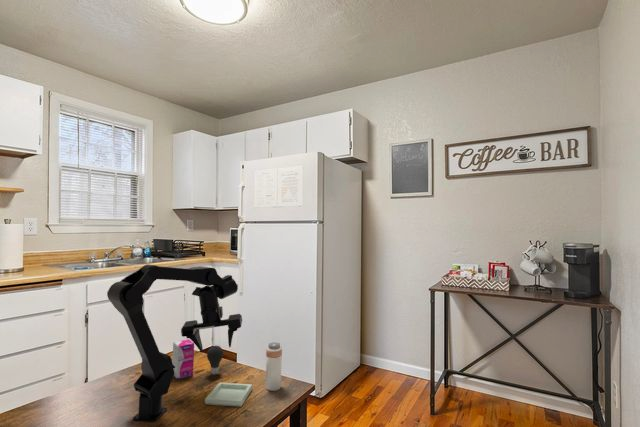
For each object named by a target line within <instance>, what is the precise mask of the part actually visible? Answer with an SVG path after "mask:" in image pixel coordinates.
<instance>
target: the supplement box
mask: <svg viewBox="0 0 640 427" xmlns="http://www.w3.org/2000/svg"><path fill="white" fill-rule="evenodd" d="M194 357H195V343H194V342H193V341H192V340H191V339H190V338H187V339H183V340H177V341H173V343H172V358H171V359H172V364H173V365H174V366H175V368H173V369H174V376H173V378H175V380H179V379H180V380H181V379H185V378H187V377H188V378H189V377H191V376H192V377H193V375H194V363H195V361H194Z"/></svg>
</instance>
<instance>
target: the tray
mask: <svg viewBox="0 0 640 427" xmlns="http://www.w3.org/2000/svg"><path fill="white" fill-rule="evenodd" d="M252 390H253V384H252V383H251V384H249V383H232V382H218V384H217V385H216V386H215V387H214V388H213V389H212V391H211V392H210V393H209V394H208V395H207V396H206V397H205V399H204V405H212V406H226V407H240V408H241V407H242V406H243V404H244V403H245V401H246V400H247V398H248V396H249V395H250V394H251V392H252Z"/></svg>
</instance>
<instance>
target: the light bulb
mask: <svg viewBox="0 0 640 427" xmlns="http://www.w3.org/2000/svg"><path fill="white" fill-rule="evenodd" d="M206 356H207V361H208V362H209V364H210V369H211V370H210V371H211V374H212V375H214V376H215V375H217V374H218V373H219V367H220V364H221V361H222V359H223V357H224V350H223V348H222V347H221V346H220V345H213V346H211V347H209V349H208V350H207V354H206Z"/></svg>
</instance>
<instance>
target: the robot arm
mask: <svg viewBox="0 0 640 427" xmlns="http://www.w3.org/2000/svg"><path fill="white" fill-rule="evenodd" d="M156 280H163V281H164V280H165V281H183V282H190V283H193V284H197V285H202V287H198V286H196V287H195V289H194V290H193V291H192V293H191V295H192V296H196V297H198V301H199V307H200V315H201V320H202V322H200V323H199V322H198V320H197V319H195V320H189V321H185V322H184V323H183V325H182V327H181V329H180V334H181V337H182V338H185V337H186V338H185V339H189V340H190V341H192V342H193V343H194V346H196V347H197V349H198V350H199V351H200V352H201V353H202V352H203V351H204V349H203V348H204V347H203V342H202V339H201V334H200V330H205V329H210V328H211V329H212V328H218V327H226V326H227V328H228V329H227V339H228V342H227V343H228V347H229V348H231V347H232V342H233V338H234V337H233V336H234V333H235V332H237V331H238V329H240V328H241V327H242V324H243V315H241V314H240V313H235V314H230V315H229V316H228V318H226V319H223V316H224V313H223V310H224V309H223V306H221V305H220V303H219V300H223V299H225V298H228V297H230V296H232V295H234V294H236V293H237V292H238V289H239V287H238V284H237V282H236V280H235V279H234V278H233V275H231V274H227V275H224V277H221V276H220V275H219V274H218V271H217V269H216V268H215V267H210V266H209V267H208V266H192V267H188V268H181V267H174V266H173V267H171V266H161V265H160V266H159V265H157V264H156V265H155V264H150V263H149V264H145V265H143V266H141V267H140V268H139V269H137V271H134V272H132V273H131V274H128V275H126V276H125V277H124V278H123V279H121V280H120V281H116V282H114V283H113V284H111V286H110V287H109V288H108V290H107V292H106V293H107V294H106V296H107V298H108V300H109V301H110V303H111V304H112V306H113V307H114V308H115V309H116V310H117V312H119V313H120V314H121V315H122V316H123V318H124V321H125V323H126V325H127V327H128V330H129V332H130V334H131V337H132V339H133V341H134V344H135V346H136V347H137V350H138V353H139V355H140V358H141V365H140V366H141V367H140V369H141V374H140V376H139V377H138V378H137V380H136V381H135V382H134V383H133V388H134V391H135V392H138V393H139V397H138V398H139V399H138V412H137V413H136V414H135V415H134V416H133V417H132V420H133V421H142V422H143V421H145V422H157V420H158V419H160V418H161V416H163V414H164V413H166V412H167V410H168V407H165V406H163V399H164V398H163V396H164V395H167V394H168V392H169V389H170V386H171V383H172V380H173V378H174V369H173V368H175V366H174V365H173V364H172V359H173V358H172V357H171V355H168V354H166V353H164V352H161V351H160V350H159V347H158V345H157V343H156V340H155V337H154V335H153V333H152V330H151V328H150V326H149V323H148V321H147V317H146V316H145V313H144V311H143V309H144V301H145V300H144V296H143V295H145V294H146V293H147V292H148V291H149V290H150V288H151V287H152V286H153V283H154V282H156Z"/></svg>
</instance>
